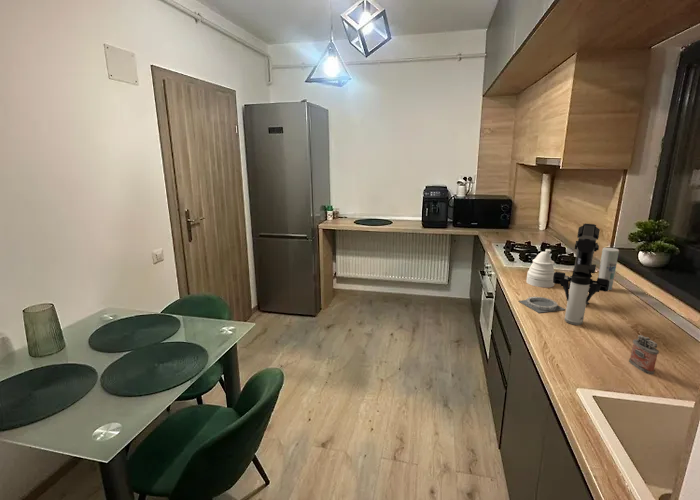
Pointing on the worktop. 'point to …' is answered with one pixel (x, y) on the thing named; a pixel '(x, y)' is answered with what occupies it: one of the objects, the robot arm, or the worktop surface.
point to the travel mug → (577, 298)
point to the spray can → (608, 265)
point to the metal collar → (547, 308)
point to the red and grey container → (644, 354)
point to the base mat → (541, 303)
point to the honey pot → (541, 271)
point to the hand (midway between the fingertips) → (577, 300)
